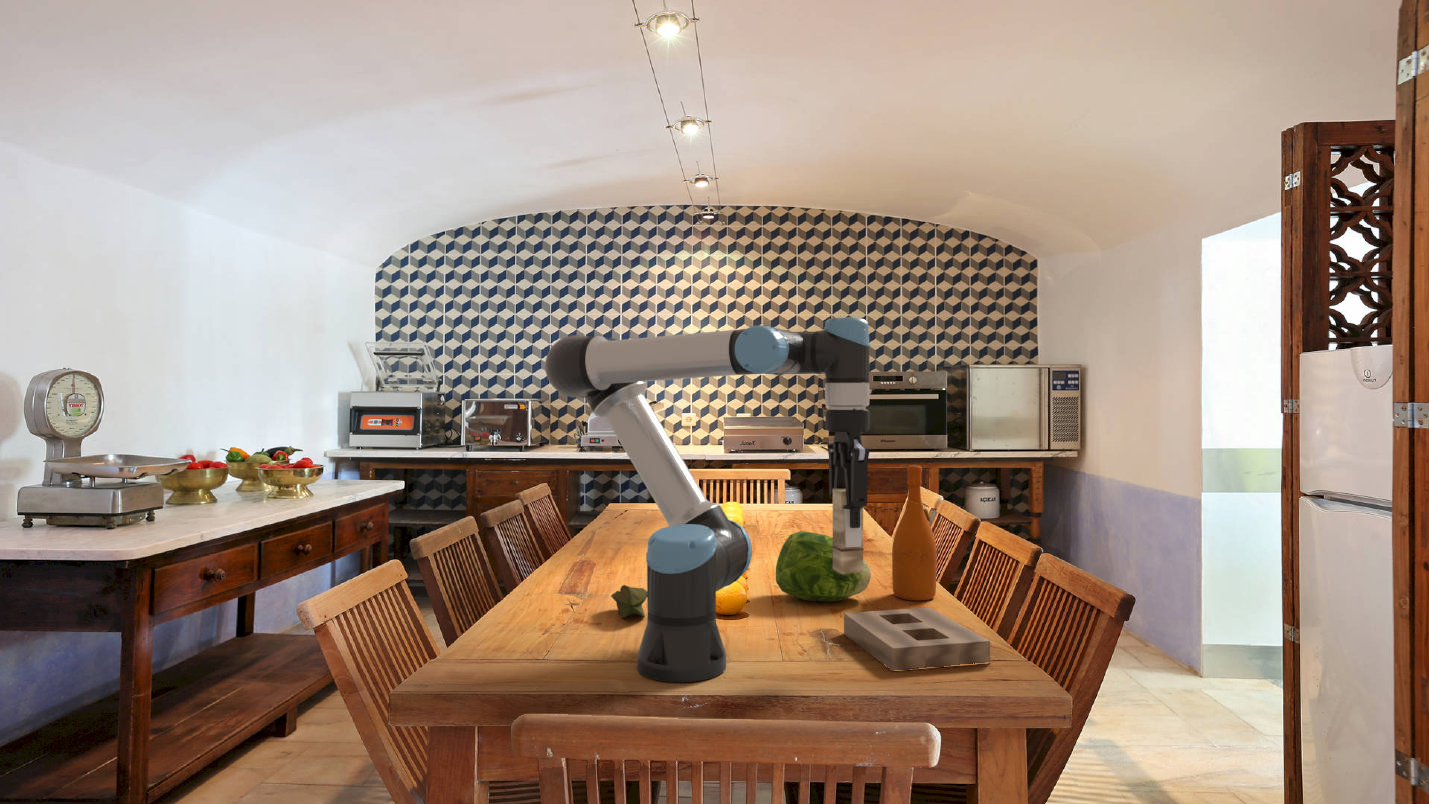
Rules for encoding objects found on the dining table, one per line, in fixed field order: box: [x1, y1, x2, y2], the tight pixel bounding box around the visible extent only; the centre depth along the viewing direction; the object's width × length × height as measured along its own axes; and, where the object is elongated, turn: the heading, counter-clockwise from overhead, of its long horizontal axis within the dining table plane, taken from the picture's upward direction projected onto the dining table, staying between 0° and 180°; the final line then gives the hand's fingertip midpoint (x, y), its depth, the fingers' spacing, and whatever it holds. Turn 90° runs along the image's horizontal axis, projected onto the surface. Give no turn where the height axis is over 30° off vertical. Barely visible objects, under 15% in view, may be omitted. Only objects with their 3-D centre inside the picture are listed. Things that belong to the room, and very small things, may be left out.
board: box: [843, 607, 991, 671], centre depth 150 cm, size 18×22×4 cm
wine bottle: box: [891, 464, 938, 602], centre depth 187 cm, size 10×10×30 cm
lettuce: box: [775, 530, 872, 602], centre depth 184 cm, size 16×21×15 cm
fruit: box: [610, 584, 647, 619], centre depth 171 cm, size 11×12×7 cm
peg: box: [832, 488, 864, 574], centre depth 141 cm, size 4×4×14 cm
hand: (847, 543), depth 141 cm, fingers closed on peg, 4 cm apart
